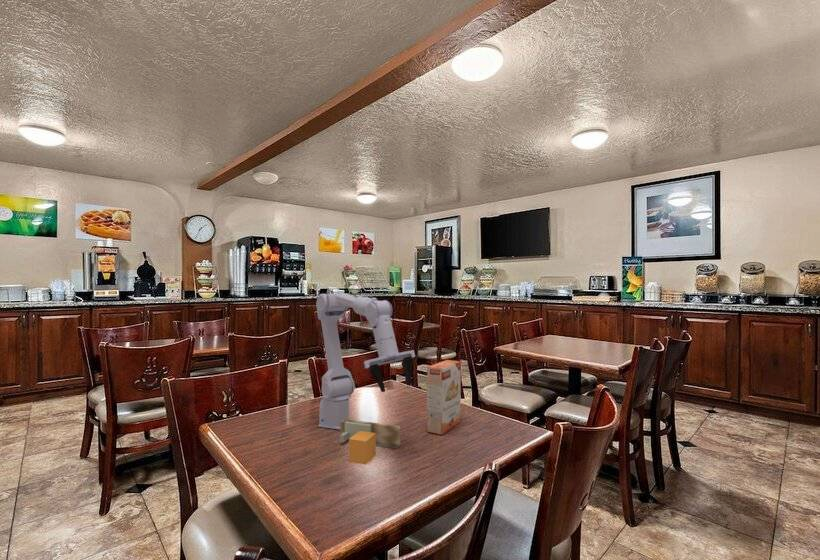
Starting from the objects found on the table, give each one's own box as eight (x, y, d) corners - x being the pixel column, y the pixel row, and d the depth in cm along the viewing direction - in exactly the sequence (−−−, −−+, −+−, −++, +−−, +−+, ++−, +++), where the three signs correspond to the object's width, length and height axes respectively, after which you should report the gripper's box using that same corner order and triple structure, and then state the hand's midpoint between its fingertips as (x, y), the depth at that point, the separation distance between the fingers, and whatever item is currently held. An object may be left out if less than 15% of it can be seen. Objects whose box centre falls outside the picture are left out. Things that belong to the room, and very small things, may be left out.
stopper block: (349, 461, 101) (349, 438, 102) (359, 452, 107) (359, 430, 107) (365, 464, 100) (365, 441, 100) (375, 454, 105) (375, 433, 105)
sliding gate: (339, 442, 112) (339, 426, 112) (346, 437, 116) (346, 421, 116) (365, 446, 109) (365, 429, 109) (371, 440, 113) (371, 424, 113)
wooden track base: (339, 440, 115) (339, 421, 115) (344, 436, 118) (344, 418, 118) (396, 449, 109) (396, 429, 109) (400, 445, 111) (400, 426, 112)
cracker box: (443, 436, 118) (442, 368, 118) (426, 432, 121) (425, 366, 121) (461, 422, 130) (461, 360, 130) (445, 419, 133) (445, 359, 133)
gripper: (362, 343, 104) (373, 394, 100) (412, 332, 108) (425, 380, 105) (359, 347, 110) (369, 395, 106) (406, 337, 115) (417, 383, 111)
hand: (396, 388), depth 106 cm, fingers open, 7 cm apart
